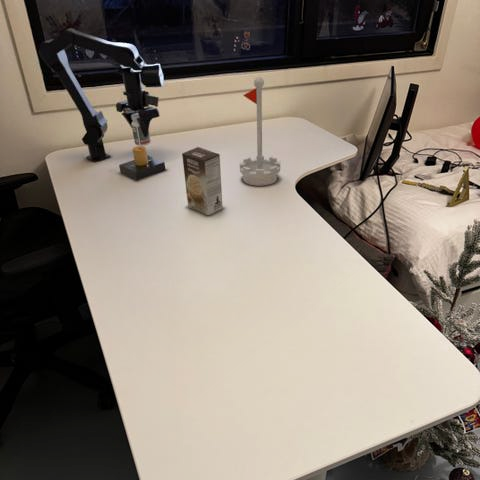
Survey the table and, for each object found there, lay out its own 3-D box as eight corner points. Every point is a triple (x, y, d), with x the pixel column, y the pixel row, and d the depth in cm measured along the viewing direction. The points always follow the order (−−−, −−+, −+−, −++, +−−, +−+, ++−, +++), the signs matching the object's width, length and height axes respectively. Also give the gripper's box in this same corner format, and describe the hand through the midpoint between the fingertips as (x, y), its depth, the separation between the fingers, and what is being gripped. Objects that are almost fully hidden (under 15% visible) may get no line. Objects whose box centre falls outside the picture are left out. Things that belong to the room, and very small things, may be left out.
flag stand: (285, 174, 153) (288, 73, 134) (271, 189, 144) (271, 83, 125) (249, 169, 158) (247, 71, 139) (233, 183, 149) (228, 81, 130)
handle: (132, 163, 158) (129, 147, 155) (143, 159, 160) (140, 144, 157) (139, 166, 155) (137, 150, 152) (150, 162, 158) (148, 147, 154)
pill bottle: (152, 141, 170) (148, 112, 164) (148, 146, 166) (143, 117, 160) (137, 141, 171) (132, 112, 165) (133, 146, 166) (127, 117, 160)
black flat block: (120, 173, 159) (118, 164, 157) (149, 163, 166) (147, 154, 164) (136, 180, 154) (135, 171, 152) (165, 170, 160) (164, 161, 158)
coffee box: (186, 207, 136) (180, 152, 126) (202, 200, 140) (197, 146, 130) (208, 216, 131) (203, 160, 121) (224, 208, 135) (220, 153, 125)
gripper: (169, 87, 155) (174, 134, 165) (137, 79, 166) (145, 124, 176) (141, 93, 149) (149, 142, 159) (111, 85, 160) (120, 132, 170)
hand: (141, 135), depth 166 cm, fingers closed on pill bottle, 6 cm apart
